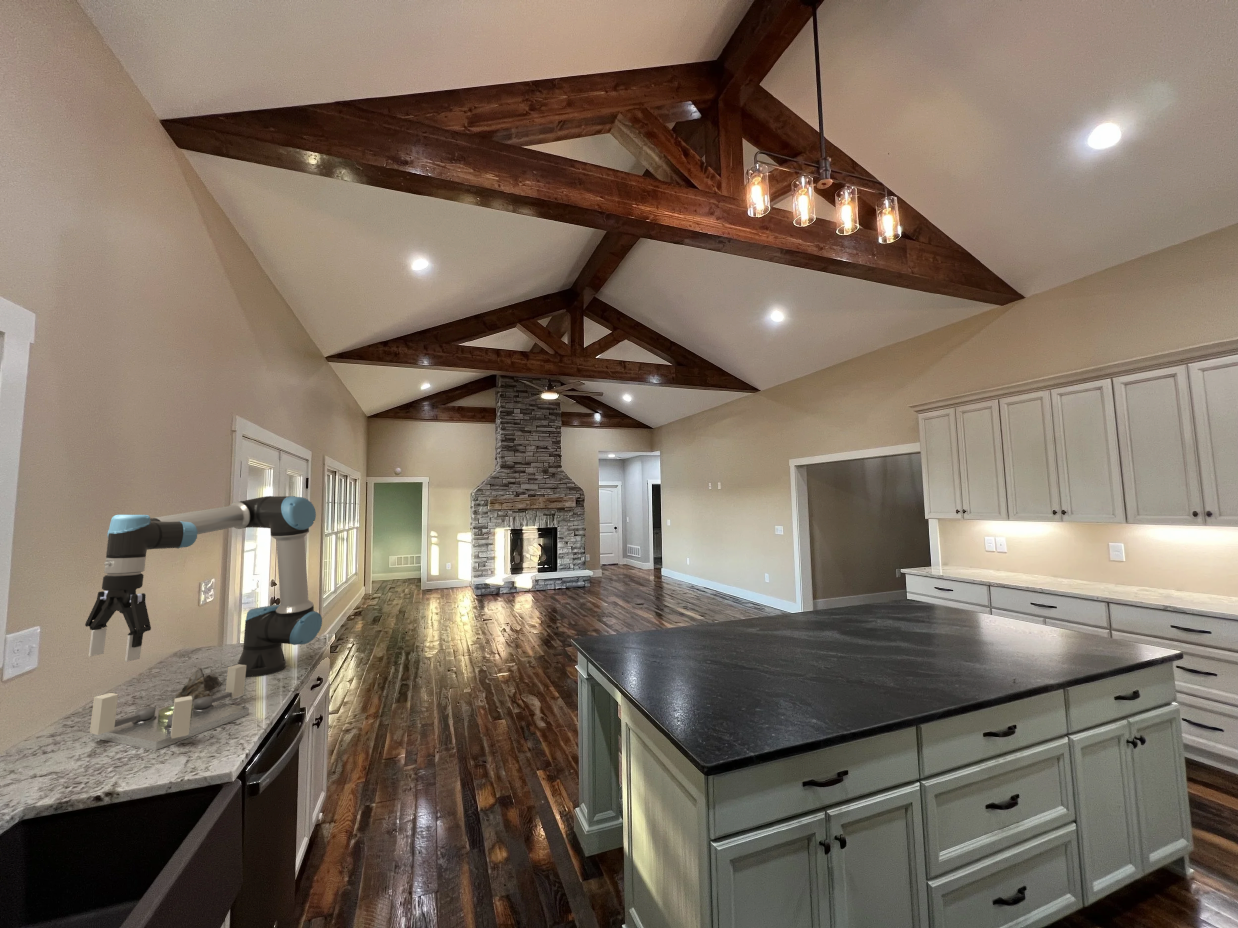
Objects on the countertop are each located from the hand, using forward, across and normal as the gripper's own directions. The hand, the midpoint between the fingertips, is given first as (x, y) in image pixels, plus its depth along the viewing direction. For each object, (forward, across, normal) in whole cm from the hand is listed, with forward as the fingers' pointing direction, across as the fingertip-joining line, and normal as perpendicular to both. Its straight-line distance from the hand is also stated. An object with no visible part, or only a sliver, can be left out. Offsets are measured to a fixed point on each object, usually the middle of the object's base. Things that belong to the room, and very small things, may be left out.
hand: (113, 657), depth 127 cm
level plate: (+20, +6, +12) cm, 25 cm away
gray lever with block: (+18, +6, +23) cm, 30 cm away
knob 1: (+18, 0, +4) cm, 18 cm away
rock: (+21, -14, +32) cm, 41 cm away
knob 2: (+18, +16, +6) cm, 25 cm away
